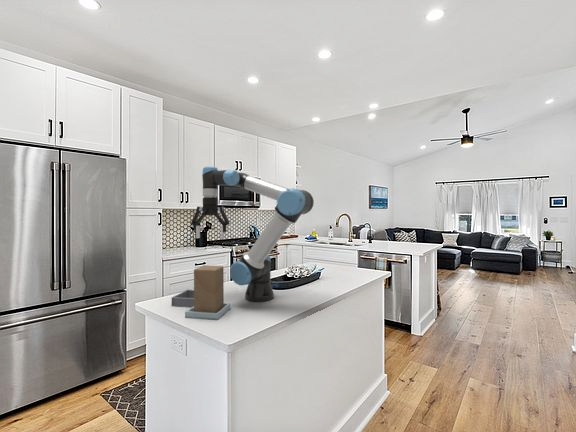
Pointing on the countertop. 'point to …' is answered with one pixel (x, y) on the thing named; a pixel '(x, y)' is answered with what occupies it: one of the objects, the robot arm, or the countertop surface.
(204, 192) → the robot arm
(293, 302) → the countertop surface
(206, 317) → the tray
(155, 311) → the countertop surface
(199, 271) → the wooden block
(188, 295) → the bay
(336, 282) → the countertop surface
